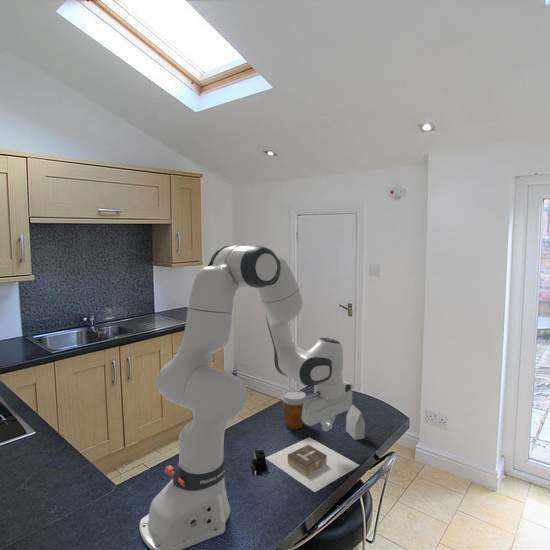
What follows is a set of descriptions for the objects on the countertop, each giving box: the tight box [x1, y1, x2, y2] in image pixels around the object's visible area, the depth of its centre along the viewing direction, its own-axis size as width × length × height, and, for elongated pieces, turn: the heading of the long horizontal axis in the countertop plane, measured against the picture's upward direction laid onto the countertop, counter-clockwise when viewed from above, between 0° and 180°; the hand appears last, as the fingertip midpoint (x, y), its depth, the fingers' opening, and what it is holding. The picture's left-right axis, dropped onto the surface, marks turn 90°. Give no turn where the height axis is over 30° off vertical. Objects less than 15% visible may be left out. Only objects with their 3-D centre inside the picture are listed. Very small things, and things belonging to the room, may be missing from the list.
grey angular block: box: [345, 404, 366, 441], centre depth 144 cm, size 4×7×10 cm, turn 18°
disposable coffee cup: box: [281, 389, 307, 430], centre depth 150 cm, size 10×10×12 cm
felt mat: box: [265, 436, 360, 493], centre depth 127 cm, size 20×22×1 cm
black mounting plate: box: [250, 449, 269, 477], centre depth 125 cm, size 12×7×5 cm, turn 11°
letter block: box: [288, 445, 327, 475], centre depth 126 cm, size 3×8×9 cm
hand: (327, 429), depth 131 cm, fingers closed
